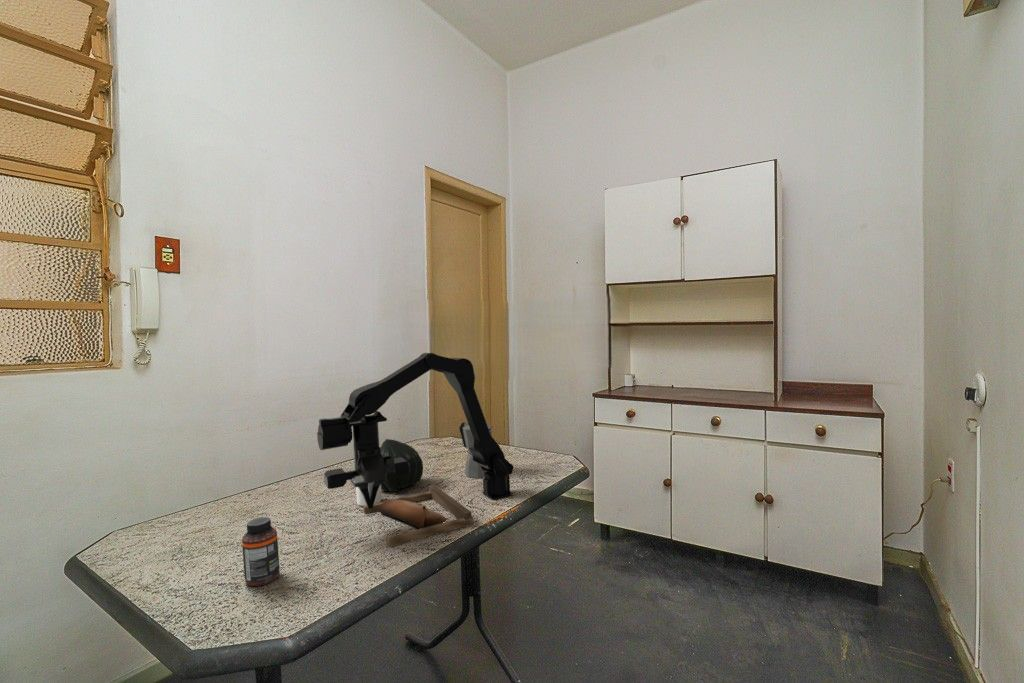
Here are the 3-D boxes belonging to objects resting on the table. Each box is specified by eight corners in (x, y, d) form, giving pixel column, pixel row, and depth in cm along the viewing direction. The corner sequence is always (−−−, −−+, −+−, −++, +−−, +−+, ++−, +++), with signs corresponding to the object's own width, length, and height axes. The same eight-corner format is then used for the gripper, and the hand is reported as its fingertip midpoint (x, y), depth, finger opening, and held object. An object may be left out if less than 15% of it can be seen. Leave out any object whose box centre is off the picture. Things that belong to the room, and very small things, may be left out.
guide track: (436, 495, 132) (436, 484, 132) (473, 523, 112) (473, 511, 111) (363, 511, 122) (362, 500, 122) (389, 546, 102) (388, 533, 101)
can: (374, 507, 125) (372, 462, 125) (352, 506, 126) (349, 461, 126) (386, 498, 131) (383, 455, 131) (364, 497, 133) (362, 455, 132)
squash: (433, 471, 137) (416, 427, 144) (383, 484, 128) (367, 437, 136) (421, 493, 146) (406, 451, 154) (373, 507, 138) (359, 462, 145)
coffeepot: (504, 474, 149) (502, 417, 148) (481, 482, 142) (479, 422, 142) (473, 465, 160) (470, 412, 159) (450, 472, 153) (448, 416, 153)
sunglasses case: (452, 519, 115) (440, 500, 112) (433, 543, 110) (420, 524, 107) (406, 504, 126) (394, 486, 124) (388, 525, 122) (375, 507, 119)
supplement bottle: (253, 572, 93) (250, 515, 93) (284, 569, 94) (281, 513, 93) (238, 589, 87) (234, 528, 87) (272, 586, 88) (268, 525, 87)
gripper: (330, 456, 99) (334, 530, 100) (416, 442, 109) (419, 509, 109) (321, 446, 109) (325, 513, 109) (401, 434, 118) (405, 496, 119)
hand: (370, 508), depth 111 cm, fingers closed
